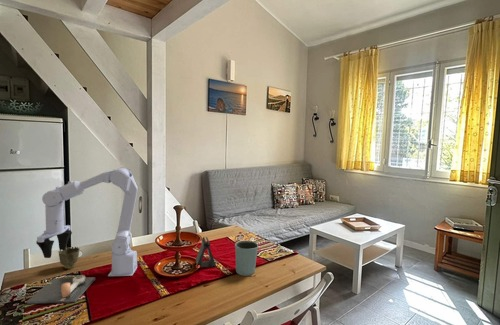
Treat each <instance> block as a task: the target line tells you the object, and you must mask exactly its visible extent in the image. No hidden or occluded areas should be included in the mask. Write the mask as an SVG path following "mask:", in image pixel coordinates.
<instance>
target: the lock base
mask: <svg viewBox="0 0 500 325" xmlns="http://www.w3.org/2000/svg"><path fill="white" fill-rule="evenodd" d="M73 278H74V277H62V278H59V277H58V278H57V277H55V278H53V279H51V281H49V282H46V283H45V285H44V286H43V287H42V288H41V289H40V290H39V291H37V292H36V293H35V294H34V295H32V296H31V297H30V298H29V299H28V300H27V301H26V304H27V305H36V304H39V305H40V304H57V303H60V304H61V303H76V302H77V301H78V300H79V299H80V298H81V296H82V295H83V294H84V293H85V292H86V291H87V290H88V288H89V287H90V286H91V285H92V284H93V283H94V281H96V277H93V276H92V277H90V276H89V277H86V276H85V282H84V283H82V284H79V285H78V286H77V287H76V288H75V289H74V290H73V291H72V292H71V294H70V295H69V296H67V297H62V296H61V285H62V284H64V283H68V282H69V283H70V286H71V285H72V284H73Z"/></svg>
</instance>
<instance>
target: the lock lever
mask: <svg viewBox="0 0 500 325" xmlns="http://www.w3.org/2000/svg"><path fill="white" fill-rule="evenodd" d="M72 278H73V284H72V285H71V286H70V283H69V282H68V283H64V284H62V285H61V296H62V297H67V296H69V295H70V294H71V292H72V291H73V290H74V289H75V288H76V287H77V286H78V285H79V284H82V283H84V282H85V278H86V276H85V275H84V274H80V275H77V276H75V277H72Z"/></svg>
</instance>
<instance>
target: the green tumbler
mask: <svg viewBox="0 0 500 325" xmlns="http://www.w3.org/2000/svg"><path fill="white" fill-rule="evenodd" d="M234 248H235V272H236V274H238V275H240V276H252V275H254V274H255V272H256V266H257V265H256V263H257V256H258V249H259V244H258V243H257V242H254V241H251V240H241V241H240V240H239V241H237V242H235V244H234Z"/></svg>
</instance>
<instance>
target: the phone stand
mask: <svg viewBox="0 0 500 325" xmlns="http://www.w3.org/2000/svg"><path fill="white" fill-rule="evenodd" d="M206 250H207V254H208V257H209V260H203V258H204V255H205V252H206ZM213 255H214V254H213V253H212V250H211V243H210V241H209V238H208V237H207V236H206V237H205V236H204V237H202V238H201V245H200V248H199V250H198V252H197V255H196V258H195V260H196V263H197V265H200V266H201V268H200V269H204V268H203V267H206V268H214V267H213V266H216V267H217V264H216V261H215V259H214V256H213Z"/></svg>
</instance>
